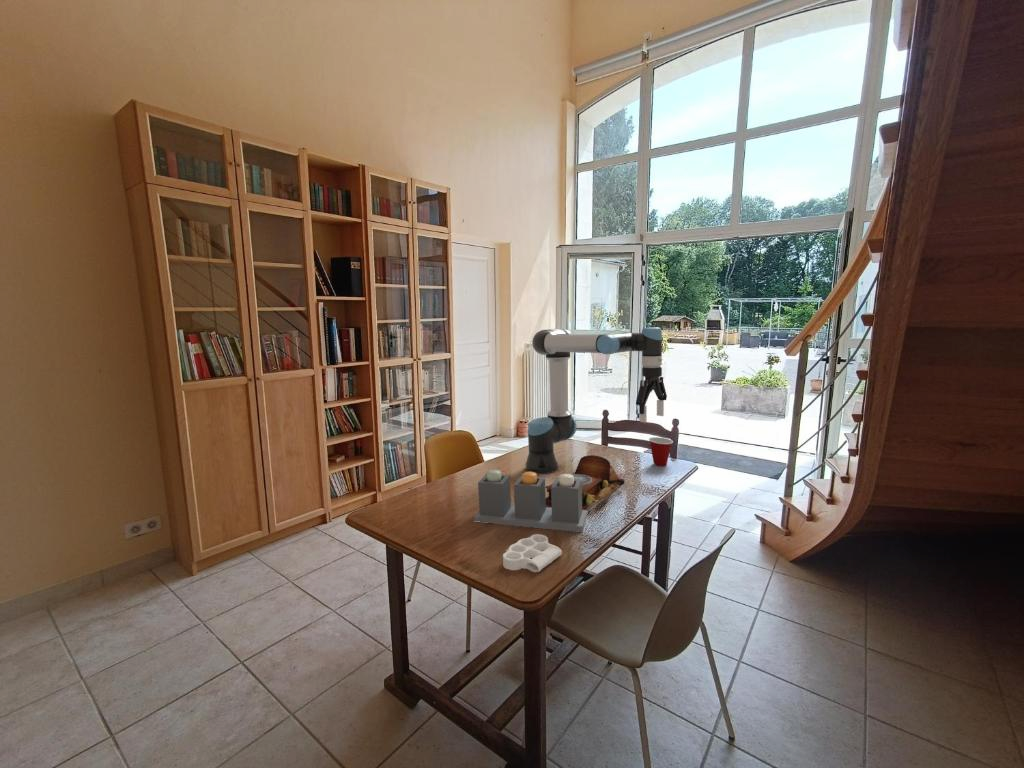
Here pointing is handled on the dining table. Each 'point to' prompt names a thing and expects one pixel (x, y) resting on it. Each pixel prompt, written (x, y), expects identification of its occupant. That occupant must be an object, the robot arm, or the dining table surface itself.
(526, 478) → the orange button
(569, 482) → the cream button
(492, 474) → the sage button
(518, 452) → the dining table surface
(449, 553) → the dining table surface
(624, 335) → the robot arm
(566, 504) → the button stand
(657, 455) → the plastic cup
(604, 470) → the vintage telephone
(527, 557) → the white brass knuckles
